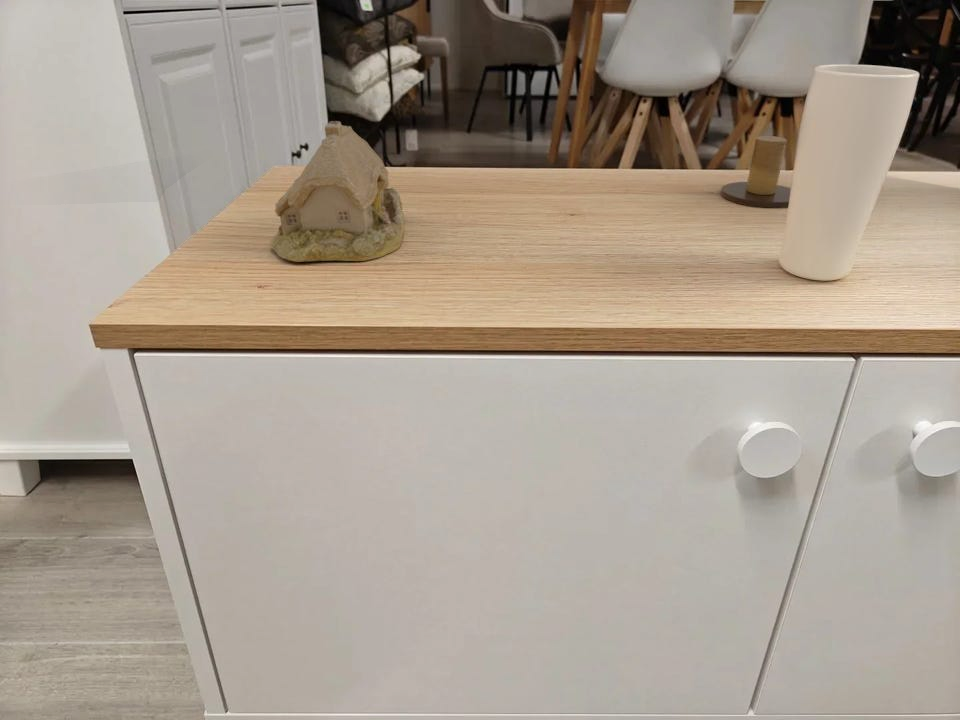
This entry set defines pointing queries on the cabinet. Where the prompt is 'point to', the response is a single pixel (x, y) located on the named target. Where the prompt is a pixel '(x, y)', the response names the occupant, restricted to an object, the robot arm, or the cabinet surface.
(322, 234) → the ceramic model
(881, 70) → the drinking glass
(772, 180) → the lid
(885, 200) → the cabinet surface
